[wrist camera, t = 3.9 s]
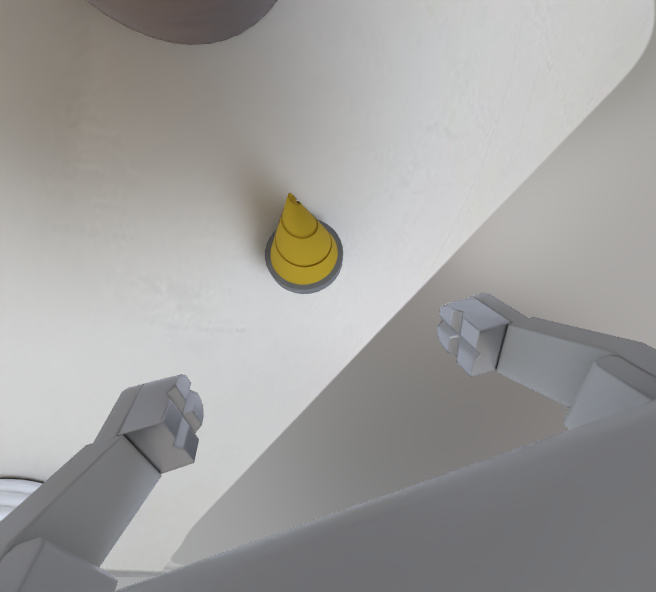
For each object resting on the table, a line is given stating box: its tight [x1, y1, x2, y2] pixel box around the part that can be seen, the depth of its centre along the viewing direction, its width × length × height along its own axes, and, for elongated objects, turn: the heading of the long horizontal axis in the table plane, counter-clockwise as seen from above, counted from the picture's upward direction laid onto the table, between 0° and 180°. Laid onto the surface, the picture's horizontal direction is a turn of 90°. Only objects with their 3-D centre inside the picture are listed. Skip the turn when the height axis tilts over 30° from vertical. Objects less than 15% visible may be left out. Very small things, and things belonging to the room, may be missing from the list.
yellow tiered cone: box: [265, 193, 343, 294], centre depth 17 cm, size 5×5×10 cm
